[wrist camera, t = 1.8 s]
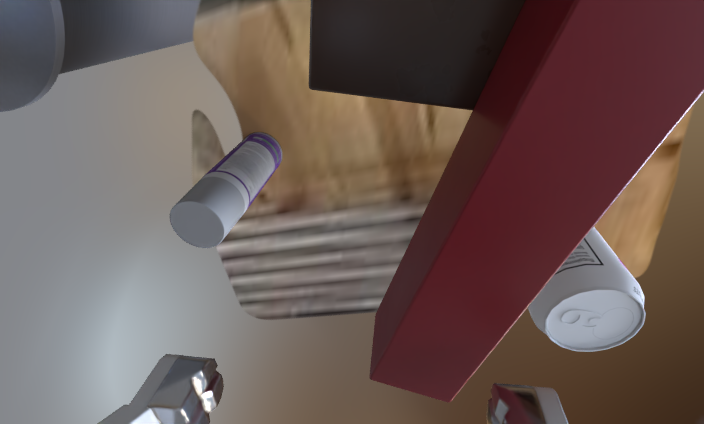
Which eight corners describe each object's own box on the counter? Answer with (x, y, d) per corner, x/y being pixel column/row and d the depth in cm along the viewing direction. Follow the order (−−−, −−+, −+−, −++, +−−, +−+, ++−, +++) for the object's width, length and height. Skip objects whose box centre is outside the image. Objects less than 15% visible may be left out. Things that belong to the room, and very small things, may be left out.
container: (252, 174, 42) (187, 253, 30) (235, 137, 40) (156, 205, 28) (288, 166, 41) (236, 244, 29) (272, 127, 39) (208, 194, 26)
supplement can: (589, 192, 38) (678, 293, 26) (557, 252, 43) (621, 364, 30) (511, 181, 39) (561, 274, 26) (488, 242, 43) (522, 347, 30)
